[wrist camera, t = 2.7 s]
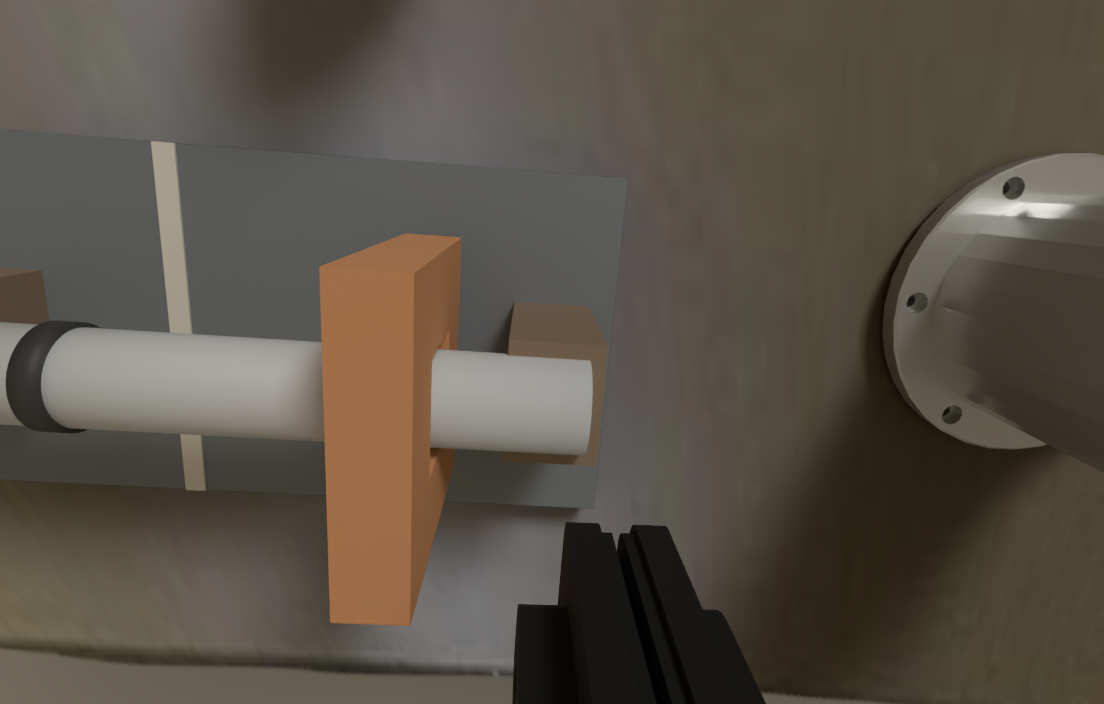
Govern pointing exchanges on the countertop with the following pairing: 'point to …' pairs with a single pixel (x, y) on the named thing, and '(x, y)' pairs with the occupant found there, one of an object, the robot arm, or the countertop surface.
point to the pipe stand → (287, 314)
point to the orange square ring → (384, 420)
